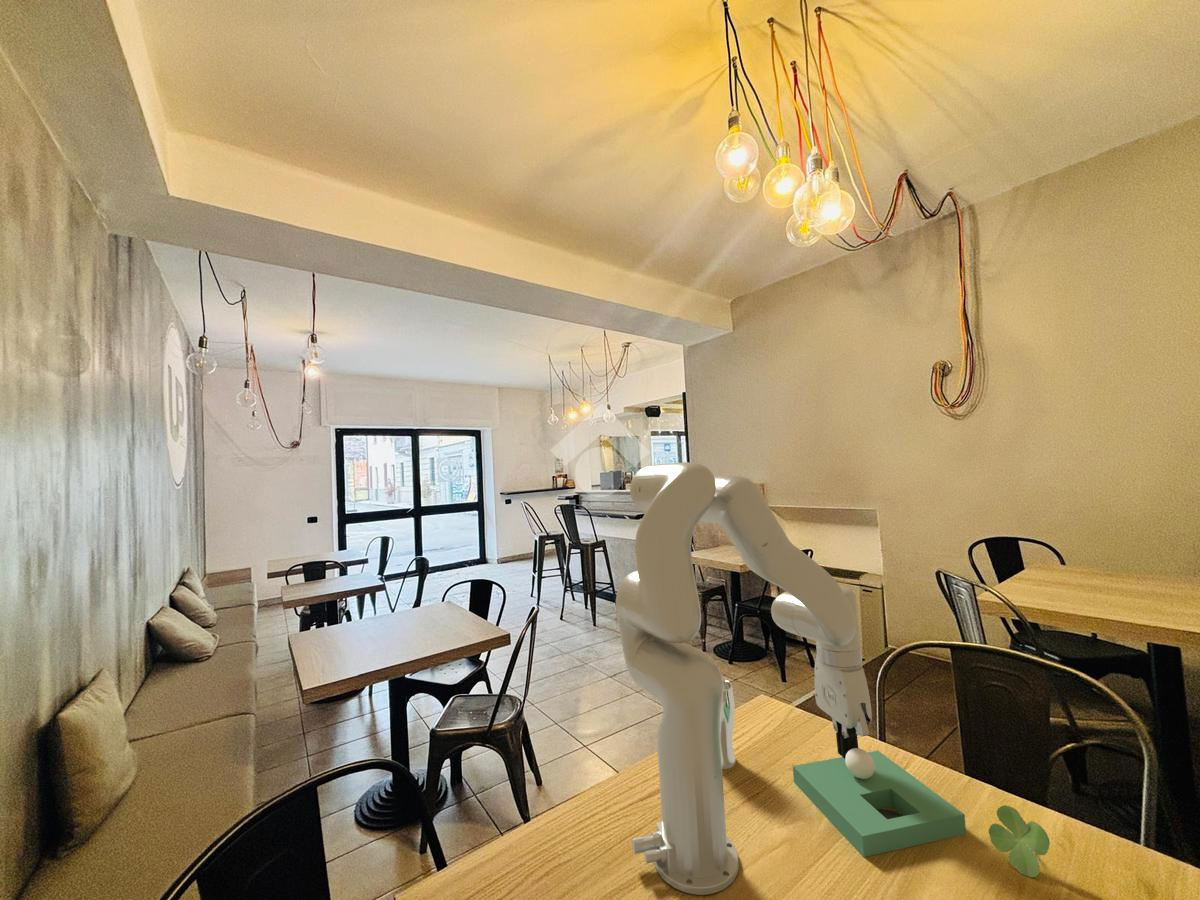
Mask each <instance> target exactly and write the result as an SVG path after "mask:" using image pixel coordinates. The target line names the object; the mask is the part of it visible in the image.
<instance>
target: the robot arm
mask: <svg viewBox="0 0 1200 900" xmlns="http://www.w3.org/2000/svg"><path fill="white" fill-rule="evenodd" d="M629 493H630V497H631V500H632V502H633V504H634V505H635V506H636V507H637V508H638V509H639V510H640V511H642V512H643V513H644V514H643V516H642V518H641V521H640V523H639V526H638V528H637V531H636V534H635V535H636V536H635V542H634V552H635V553H634V554H635V561H636V570H634V571H632V572H630V573H629V574H627V575H626V576H625V577H624V578H623V579H622V581H620V585H619V586H618V589H617V592H616V596H615V597H616V598H615V613H616V614H615V615H616V619H617V624H618V630H619V636H620V642H621V647H622V651H623V655H624V661H625V665H626V669H627V672H628V674H629V676H630V678H631V680H632V681H633V682H634V684H636V685H637V686H638V687H639V688H641V689H642V690H643V691H645V692H646V693H647V694H649V695H650V696H652V697H653V698H654V700H655V699H656V700H657V702H659V703H660V704H661V706H662V710H663V711H662V712H663V713H662V716H661V720H660V722H659V725H658V728H657V735H656V746H657V748H656V750H657V762H658V777H659V797H660V798H659V799H660V811H661V813H660V814H661V821H659V822H657V821H656V831H651V833H650V835H646V836H638V837H634V838H631V847H632V852H633V853H632V854H634V855H640V854H643V856H644V861H645V864H652V863H654V867H655V870H656V871H657V872H658V874H659V876H660V877H661V878H662V879H663V880H664V882H666V883H667V884H668V885H669V886H671V887H672V888H674V889H676V890H678V891H680V892H683V893H687V894H690V895H696V896H697V895H699V896H700V895H701V896H703V895H712V894H716V893H719V892H720V891H724V890H725V889H726V888H728V887H729V886H730V885H731V884H732V883H733V882H734V881H735V879H736V878H737V875H738V872H739V870H740V869H739V868H740V867H739V866H740V864H739V863H740V862H739V856H738V855H739V854H738V851H737V848H736V846H735V845H734V843H733V842H732V840H731V839H730V838H729V837H728V836H727V830H726V828H727V827H726V813H725V811H726V809H725V798H724V797H725V796H724V794H725V793H724V781H723V769H722V761H721V747H720V713H721V705H722V698H723V679H724V678H723V674H722V672H721V670H720V668H719V666H718V665H717V664H716V662H715V660H713V659H712V658H711V657H710V656H709V655H708V654H707V653H705V652H703V651H702V650H700V649H698V648H696V647H694V646H692V645H690V644H688V642H689V641H691V640H693V639H694V638H695V637H696V636H697V634H698V633H699V631H700V628H701V624H702V611H701V610H702V609H701V602H700V597H699V591H698V586H697V580H696V575H695V569H694V565H693V555H692V540H693V536H694V533H695V529H696V528H697V526H698V524H699V523H705V524H706V523H707V524H712V525H713V524H714V525H719V526H721V528H722V530H723V531H724V532H725V534H726V536H727V537H728V539H729V540H730V542H731V543H732V546H733V547H734V548H735V550H736V552H737V553H738V555H739V556H740V558H741V559H742V561H743V563H744V565H745V566H746V568H748V569H749V570H750V571H751V572H753V573H755V574H756V575H757V576H759V577H760V578H762V579H764V580H766V581H767V582H769V583H771V584H772V585H774V586H777V587H779V588H780V589H783V590H784V592H781V593H780V594H779V595H777V596H776V597H775V599H773V601H772V604H771V608H770V613H771V617H772V620H773V622H774V623H775V625H776V626H777V627H779V628H780V629H782V630H784V631H785V632H787V633H790V634H793V635H796V636H799V637H802V638H805V639H808V640H811V641H815V647H816V656H815V660H814V697H815V703H816V705H817V707H818V708H819V709H820V710H822V711H823V712H824V713H825V714H827V715H828V716H830V719H831V721H832V726H833V730H834V732H835V737H836V747H837V754H838V755H840V757H843V758H844V759H845V757H846V754H847V752H848V751H849V750H851V749H853V748H859V742H858V740H859V739H858V736H859V737H868V736H870V731H869V728H868V725H871V723H872V721H873V720H872V719H873V716H872V706H871V705H872V704H871V703H872V702H871V697H870V691H869V687H868V681H867V677H866V674H865V670H864V667H863V657H862V656H863V655H862V646H861V636H860V626H859V616H858V607H857V597H856V594H855V592H854V591H853V590H852V588H849V587H847V586H844V585H839V583H838V582H837V581H836V580H835V578H834V577H833V576H832V574H830V573H829V572H828V571H827V570H826V569H824V567H823V566H821V565H820V564H819V563H818V562H816V561H815V560H814V559H813V558H811V557H810V556H809V555H808V554H806V553H805V552H804V551H802V550H801V549H800V548H798V547H797V546H796V545H794V544H793V543H792V542H791V540H790V539H789V538H788V536H787V534H786V532H785V531H784V529H783V528H782V526H781V524H780V523H779V521H778V520H777V518H776V515H775V514H774V513H773V511H772V509H771V507H770V506H769V504H768V503H767V500H766V498H764V496H763V494H762V492H761V490H760V489H759V487H758V486H757V484H756V483H754V482H753V481H752V480H751V479H749V478H747V477H745V476H741V475H714V474H713V472H712V471H711V470H710V469H709V468H708V467H707V466H705V465H703V464H700V463H696V462H689V461H688V462H687V461H686V462H685V461H683V462H671V463H661V464H650V465H646V466H643V468H641V469H639V470H638V471H637V472H636V473H635V474H634V476H632V479H631V481H630V487H629Z"/></svg>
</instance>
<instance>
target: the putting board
mask: <svg viewBox="0 0 1200 900" xmlns="http://www.w3.org/2000/svg"><path fill="white" fill-rule="evenodd" d="M866 752H867V753H868V754H869V755H870V756H871V757H872V759H873V761H874V764H875V770H874V773H873V775H872V776H871V777H870V778H867V779H860V778H857V777H855V776H854V775H853V774H852V773H851V772H850V771H849V770H848V768H847V766H846V762H845V759H844V758H843V757H842V756H840V757H836V758H835V757H834V758H829V759H824V760H819V761H814V762H807V763H803V764H797V765H792V773H793V774H792V775H793V776H792V777H793V783H794V784H795V785H796V786H797V787H798V789H800V791H801V792H802V793H803V794H804V795H805V796H806V797H807V798H808V799H809V800H810V802H812V804H813V805H815V807H816V809H818V810H819V811H820V812H821V813H822V815H824V816H825V818H826V819H827V820H828V821H829V823H831V824H832V825H833V826H834V827H835V828H836V829H837V831H838V832H840V833H841V834H842V836H843V837H844V838H845V839H846V840H847V841H848V842H849V843H850V844H851V845H852V846H853V847H854V848H855V849H856V851H857V852H858V853H859V854H860V855H861V856H862V857H863V858H867V857H871V856H876V855H881V854H884V853H889V852H893V851H898V850H903V849H906V848H911V847H915V846H919V845H920V846H921V845H925V844H930V843H932V842H937V841H943V840H947V839H950V838H954V837H955V838H956V837H960V836H964V835H966V834H967V829H966V819H965V818H966V816H965V815H966V814H965V813H963V812H962V811H961V810H960V809H958V808H956V807H955V805H952V803H951V802H949V801H947V799H945V798H943V797H942V796H941V795H939V794H938V793H936V792H935V791H933V790H932V789H931V788H930V787H929V786H927V785H926V784H924V783H923V782H922V781H920V780H919V779H917V778H916V777H915V776H913V775H912V774H910V773H909V772H908V771H907V770H905V769H904V768H902V767H901V766H900V765H898V764H897V763H896V762H894V761H893V760H892V759H890V757H887V756H886V755H885V754H884V753H882V752H881V751H879V750H874V751H869V752H868V751H866ZM889 808H894V809H895V810H890V809H889ZM896 811H897V812H896Z"/></svg>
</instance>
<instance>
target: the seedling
mask: <svg viewBox="0 0 1200 900" xmlns="http://www.w3.org/2000/svg"><path fill="white" fill-rule="evenodd" d="M996 816H997V818H998V820H999V821H1000V822H1001V824H1002V825H1001V824H998V823H992V824H991V825H990V826H989V827H988V835H989V839H990V842H991V844H992V845H993V846H994V847H995V849H996V850H998V851H999V852H1001V853H1008V852H1009V854H1008V857H1007V861H1008V864H1010V865H1011V867H1013V868H1015V869H1016V871H1017V872H1018V873H1020V874H1021V875H1024V876H1027V877H1030V878H1035V877H1038V875H1039V873H1040V872H1041V866H1040V862H1039V860H1038V857H1037V855H1038V856H1045V855H1047V853H1048V851H1049V849H1050V844H1051V841H1050V837H1049V836H1048V834H1047V831H1046V830H1045V829H1044V828H1043V827H1042V826H1041V825H1040V823H1037V822H1036V821H1033V820H1031V821H1028V823H1026V820H1024V819H1023V817H1022V816H1021V814H1020V813H1019V811H1018V810H1017V809H1016V808H1014V807H1012V806H1009V805H1005V804H1004V805H1001V806H1000V807H998V808H997V810H996Z"/></svg>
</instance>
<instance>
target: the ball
mask: <svg viewBox="0 0 1200 900" xmlns="http://www.w3.org/2000/svg"><path fill="white" fill-rule="evenodd" d="M867 752H868V751H866V750H864V749H862V748H860V747H858V748H853V749H851V750H849V751H848V752H847V754H846V757H845V762H846V766H847V768H848V770H849V771H850V772H851V773H852V774H853V775H854V776H855V777H857V778H860V779H867V778H870V777H871V776H872V775H873V773H874V770H875V764H874V761H873V759H872V757H871V756H870V755H869V754H868V753H867Z"/></svg>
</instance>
